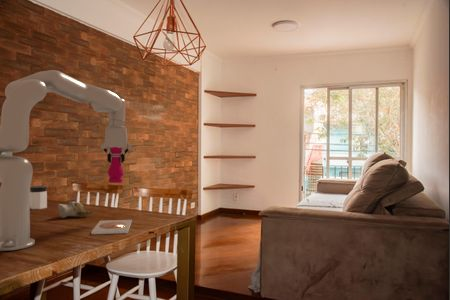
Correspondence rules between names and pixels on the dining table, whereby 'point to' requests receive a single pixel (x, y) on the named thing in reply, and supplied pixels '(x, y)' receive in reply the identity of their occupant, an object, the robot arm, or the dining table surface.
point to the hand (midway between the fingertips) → (116, 162)
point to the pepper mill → (115, 166)
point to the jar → (38, 197)
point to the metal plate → (112, 227)
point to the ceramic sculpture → (72, 209)
